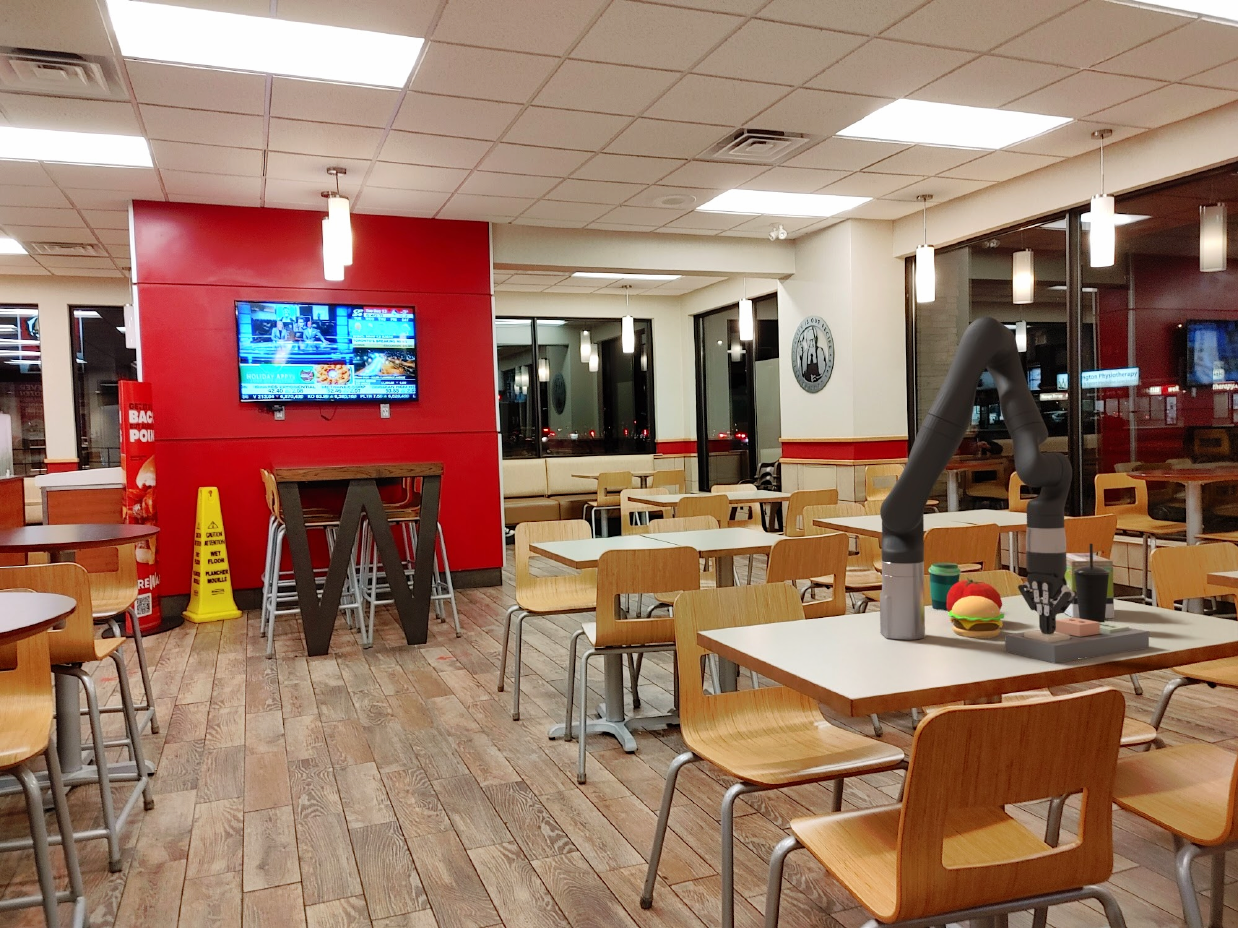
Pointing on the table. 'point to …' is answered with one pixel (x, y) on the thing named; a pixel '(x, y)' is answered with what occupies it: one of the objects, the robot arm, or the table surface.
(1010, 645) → the console
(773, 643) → the table surface
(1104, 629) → the sage tile
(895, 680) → the table surface
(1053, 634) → the cream tile
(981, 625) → the hamburger
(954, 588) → the tomato
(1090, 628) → the terracotta tile
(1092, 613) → the drinking cup
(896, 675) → the table surface
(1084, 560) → the tea box
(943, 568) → the cup
